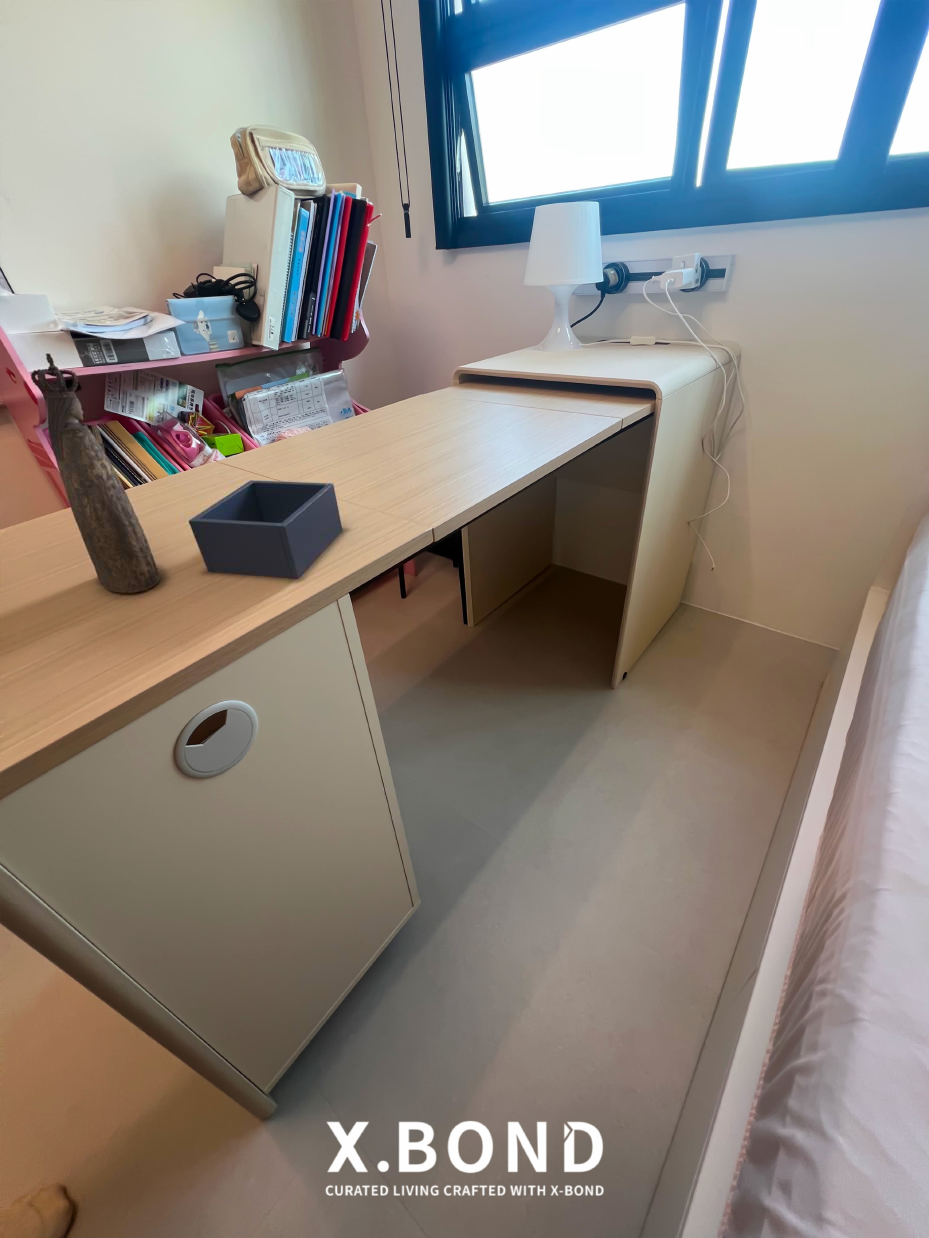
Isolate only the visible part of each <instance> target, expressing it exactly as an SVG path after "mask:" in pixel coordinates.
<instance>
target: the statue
mask: <svg viewBox="0 0 929 1238" xmlns="http://www.w3.org/2000/svg"><path fill="white" fill-rule="evenodd" d="M45 356H46V357H45V358H46V361H47V363H48V364H49V366H48V368H42V369H40V368H38V369H33V371H32V372H30V379H31V380H32V383H33V384H34V385H35V386H36V387H37V388H38V389H39V390H40V391H42V392H43V393H44V394H45V398H46V399H47V429H48V436H49V442H50V445H51V449H52V453H53V455H54V458H55V462H56V465H57V468H58V469H57V470H58V472H59V474H60V475H59V476H60V478H61V481H62V483H63V487H64V489H65V493H66V496H67V500H68V503H69V506H70V509H71V512H72V515H73V517H74V520H75V523H76V525H77V527H78V530H79V532H80V535H81V538H82V541H83V543H84V546H85V548H86V550H87V553H88V555H89V559H90V561H91V563H92V565H93V567H94V570H95V574H96V576H97V578H98V582H99V584H100V586H101V587H103V588H104V589H106V590H107V591H108V590H109V592H116V593H120V594H128V593H130V594H133V593H138V592H143V591H146V590H149V589H151V588H153V587H154V586H155V585H157V584H158V583H159V581H161V578H160V573H159V571H158V567H157V564H156V560H155V558H154V555H153V553H152V549H151V546H150V544H149V542H148V538H147V537H146V534H145V531H144V529H143V527H142V525H141V522H140V520H139V518H138V516H137V514H136V512H135V510H134V507H133V505H132V503H131V501H130V498H129V496H128V494H127V491H126V490H125V488H124V486H123V483H122V481H121V479H120V477H119V476H118V474H117V472H116V470H115V468H114V466H113V464H112V462H111V460H110V459H109V457H108V456H107V453H106V451H105V445H104V444H103V439H102V436H101V433H100V430H99V429H98V428H96V425H94V424H91V425H90V428H89V427H88V425H87V424H86V423H84V422H82V421H84V418H83V415H84V411H83V409H82V408H83V407H82V404H81V402H80V400H79V399H78V397H77V395H76V392H75V391H77V388H78V386H79V384H78V381H79V378H78V375H77V374H76V372H74V371H73V370H69V369H59V367H58V366H56V365H55V361H54V359H53V356H51V353H47V352H46V353H45ZM46 375H48V376H51V377H55V378H56V381H57V386H55V387H52V386H51V385H50V384H49V382H48V380H47V377H46ZM64 375H68V376H71V378H72V384H71V386H70V387H69V388H67V385H66V380H65V376H64Z"/></svg>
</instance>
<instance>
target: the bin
mask: <svg viewBox="0 0 929 1238" xmlns="http://www.w3.org/2000/svg"><path fill="white" fill-rule="evenodd" d="M188 524H189V527H190V530H191V531H192V535H193V537H194V540H195V542H196V545H197V548H198V550H199V552H200V554H201V557H202V560H203V563H204V565H205V567H206V570H207V572H208V573H218V574H232V575H244V576H245V575H246V576H257V577H270V578H282V579H297V580H299V578H301V576H303V575H304V573H305V572H306V571H307V570H308V569H309V568H310V567H311V566H312V565H313V564H314V563H315V561H317V559H318V558H319V557H320V556H321V555H322V554H323V553H324V551H326V549H328V547H329V546H330V545H331V544H332V543H333V542H334V541H335V540H336V539H337V538H338V536H339V535H340V534H341V533H342V532H343V531H344V530H343V525H342V520H341V515H340V511H339V505H338V500H337V495H336V490H335V485H334V483H328V482H306V481H305V482H302V481H299V482H298V481H280V480H279V481H277V480H253V479H252V480H249V481H247V482H246V483H244V484H243V485H241V486H240V487H238V488H236V489H235V490H233V491H232V492H230V493H229V494H228V495H226V496H224V497H223V498H221V499H219V500H218V501H217V502H215V503H214V504H212V505H210V506H209V507H208V508H206V509H204V510H202V511H201V512H200V513H198V514H196V515H195V516H194V517H192V518H190V519H189V520H188Z"/></svg>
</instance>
